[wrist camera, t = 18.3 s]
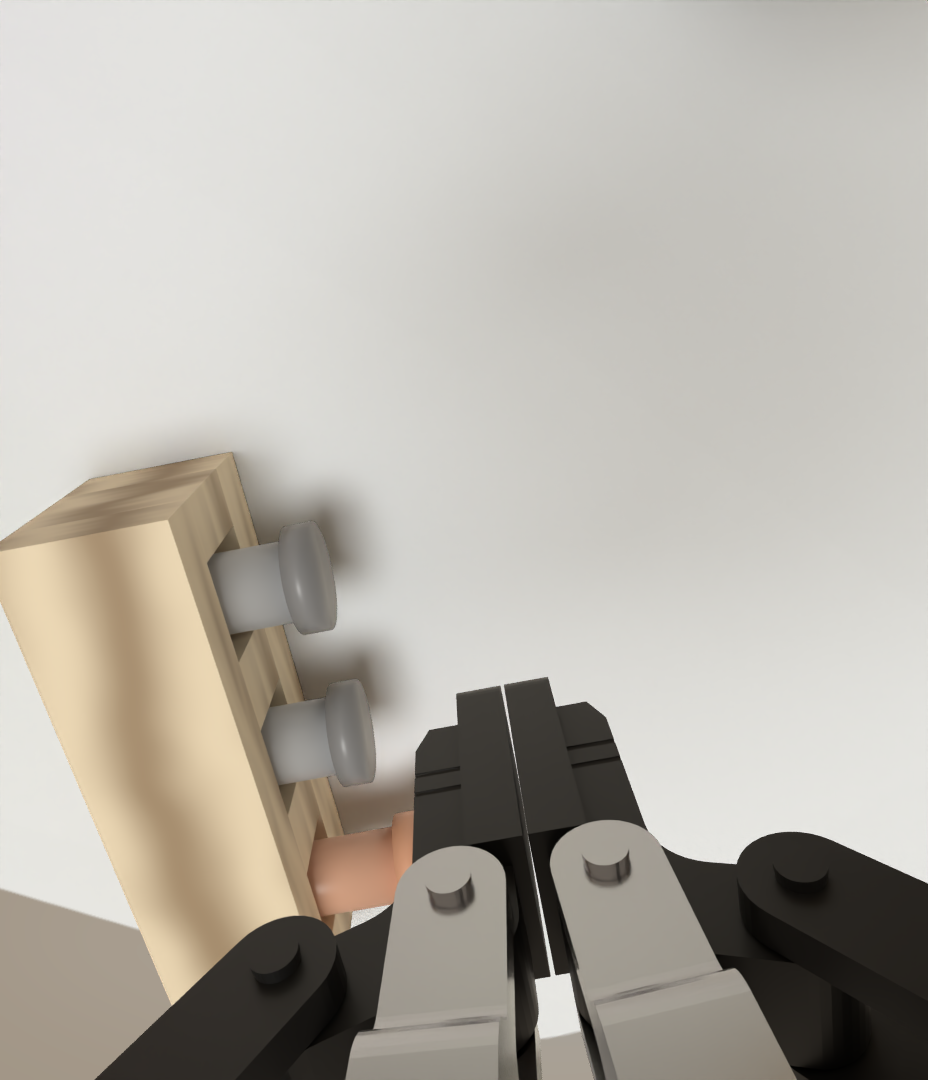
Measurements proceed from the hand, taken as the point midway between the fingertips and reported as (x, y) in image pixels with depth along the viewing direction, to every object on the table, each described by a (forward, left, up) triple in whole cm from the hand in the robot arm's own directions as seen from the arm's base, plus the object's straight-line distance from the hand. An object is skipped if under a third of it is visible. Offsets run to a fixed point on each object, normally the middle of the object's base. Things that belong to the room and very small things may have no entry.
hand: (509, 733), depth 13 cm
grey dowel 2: (+13, +13, -24) cm, 30 cm away
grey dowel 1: (+13, +5, -24) cm, 28 cm away
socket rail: (+14, +13, -27) cm, 33 cm away
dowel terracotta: (+11, +21, -24) cm, 34 cm away
